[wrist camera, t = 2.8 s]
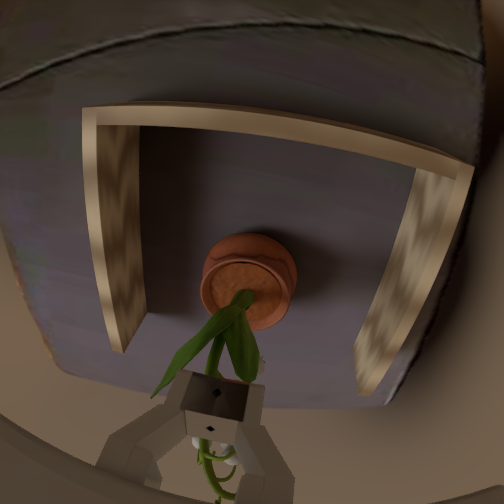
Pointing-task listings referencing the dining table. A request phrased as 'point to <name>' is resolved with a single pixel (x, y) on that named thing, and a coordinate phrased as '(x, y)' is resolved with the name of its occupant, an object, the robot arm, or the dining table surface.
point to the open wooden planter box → (280, 126)
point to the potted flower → (237, 319)
